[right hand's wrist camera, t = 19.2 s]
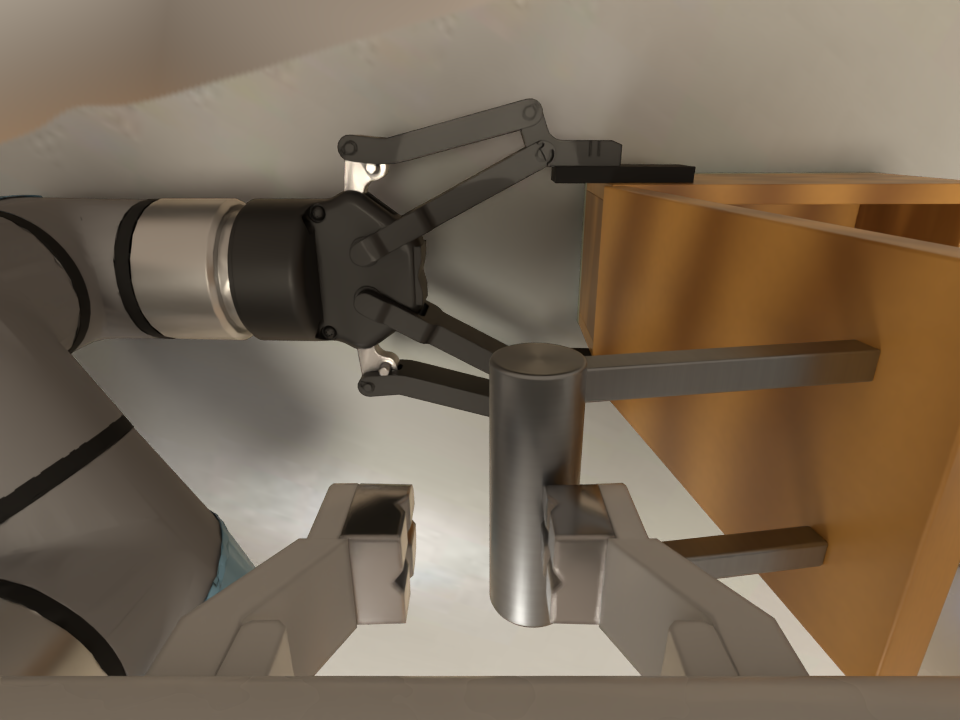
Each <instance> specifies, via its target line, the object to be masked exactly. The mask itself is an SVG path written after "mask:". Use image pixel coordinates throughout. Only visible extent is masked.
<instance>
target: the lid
mask: <svg viewBox="0 0 960 720" xmlns="http://www.w3.org/2000/svg"><path fill="white" fill-rule="evenodd" d="M599 401H611V403H612V404H613V405H614V406H615V407H616V408H617V410H618V411H619V412H620V413H621V414H622V415H623V417H624V418H625V419H626V420H627V421H628V422H629V424H630V425H631V426H632V427H633V428H634V429H635V431H636V432H637V433H638V434H639V435H640V436H641V438H642V439H643V440H644V441H645V442H646V443H647V445H648V446H649V447H650V448H651V449H652V450H653V452H654V453H655V454H656V455H657V456H658V457H659V459H660V460H661V461H662V462H663V463H664V464H665V466H666V467H667V468H668V469H669V470H670V471H671V473H672V474H673V475H674V476H675V477H676V478H677V480H678V481H679V482H680V483H681V484H682V485H683V487H684V488H685V489H686V490H687V491H688V492H689V494H690V495H691V496H692V497H693V498H694V499H695V501H696V502H697V503H698V504H699V505H700V506H701V508H702V509H703V510H704V511H705V512H706V513H707V515H708V516H709V517H710V518H711V519H712V520H713V522H714V523H715V524H716V525H717V526H718V527H719V529H720V530H721V531H722V532H723V533H724V534H725V535H718V536H709V537H700V538H691V539H682V540H673V541H664V542H662V543H664V544H665V545H667V546H668V547H670V548H671V549H673V550H674V551H676V552H677V553H679V554H680V555H682V556H683V557H685V558H686V559H687V560H689V561H690V562H692V563H693V564H695V565H696V566H698V567H699V568H701V569H702V570H704V571H705V572H707V573H708V574H710V575H711V576H713V577H714V578H716V579H719V578H727V577H735V576H743V575H752V574H759V575H760V576H761V578H762V579H763V580H764V581H765V582H766V583H767V585H768V586H769V587H770V588H771V589H772V590H773V592H774V593H775V594H776V595H777V596H778V597H779V599H780V600H781V601H782V602H783V603H784V604H785V606H786V607H787V608H788V609H789V610H790V611H791V613H792V614H793V615H794V616H795V617H796V618H797V620H798V621H799V622H800V623H801V624H802V625H803V627H804V628H805V629H806V630H807V631H808V632H809V634H810V635H811V636H812V637H813V638H814V639H815V641H816V642H817V643H818V644H819V645H820V646H821V648H822V649H823V650H824V651H825V652H826V653H827V655H828V656H829V657H830V658H831V659H832V660H833V662H834V663H835V664H836V665H837V666H838V667H839V669H840V670H841V671H842V672H843V673H844V674H845V676H917V675H918V672H919V670H920V667H921V664H922V662H923V659H924V656H925V654H926V651H927V648H928V646H929V643H930V640H931V638H932V635H933V632H934V630H935V627H936V624H937V622H938V619H939V616H940V614H941V611H942V608H943V606H944V603H945V601H946V598H947V595H948V593H949V590H950V587H951V585H952V582H953V579H954V577H955V574H956V571H957V569H958V566H959V563H960V248H959V247H954V246H948V245H943V244H937V243H932V242H927V241H921V240H916V239H910V238H905V237H900V236H894V235H889V234H883V233H878V232H873V231H867V230H862V229H856V228H851V227H846V226H840V225H835V224H829V223H824V222H819V221H813V220H808V219H802V218H797V217H792V216H786V215H781V214H775V213H770V212H765V211H759V210H754V209H748V208H743V207H738V206H732V205H727V204H721V203H716V202H711V201H705V200H700V199H694V198H689V197H684V196H678V195H673V194H667V193H662V192H657V191H651V190H646V189H640V188H635V187H630V186H605V187H604V198H603V212H602V227H601V241H600V255H599V269H598V283H597V298H596V312H595V326H594V340H593V355H592V356H583V355H582V354H581V353H580V352H578V351H576V350H574V349H571V348H568V347H565V346H561V345H556V344H549V343H522V344H515V345H510V346H507V347H504V348H501V349H499V350H497V351H496V352H494V353H493V354H492V356H491V358H490V361H489V517H490V600H491V603H492V605H493V606H494V608H495V610H496V611H497V612H498V613H499V614H500V615H501V616H502V617H503V618H504V619H506V620H507V621H509V622H511V623H513V624H516V625H519V626H523V627H543V626H548V625H551V624H553V623H550V618H549V612H548V605H547V599H546V577H545V576H544V575H543V571H542V563H541V523H542V522H543V521H544V514H543V508H542V493H543V486H544V485H580V471H581V456H582V441H583V426H584V411H585V403H586V402H599Z"/></svg>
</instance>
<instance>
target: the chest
mask: <svg viewBox="0 0 960 720" xmlns="http://www.w3.org/2000/svg"><path fill="white" fill-rule="evenodd" d="M605 186H630V187H635V188H640V189H646V190H651V191H657V192H662V193H667V194H673V195H678V196H684V197H689V198H694V199H700V200H705V201H711V202H716V203H721V204H727V205H732V206H738V207H743V208H748V209H754V210H759V211H765V212H770V213H775V214H781V215H786V216H792V217H797V218H802V219H808V220H813V221H819V222H824V223H829V224H835V225H840V226H846V227H851V228H856V229H862V230H867V231H873V232H878V233H883V234H889V235H894V236H900V237H905V238H910V239H916V240H921V241H927V242H932V243H937V244H943V245H948V246H954V247H959V248H960V180H954V179H942V178H930V177H919V176H907V175H895V174H884V173H875V172H837V173H695V174H694V182H693V183H585V193H584V211H583V228H582V245H581V262H580V279H579V296H578V313H577V322H578V324H579V326H580V328H581V331H582V333H583V335H584V338H585V340H586V343H587V345H588V348H589V350H590V353H591V355H593V340H594V326H595V312H596V298H597V283H598V269H599V255H600V241H601V227H602V212H603V198H604V187H605Z"/></svg>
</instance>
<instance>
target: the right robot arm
mask: <svg viewBox="0 0 960 720" xmlns="http://www.w3.org/2000/svg"><path fill="white" fill-rule="evenodd" d="M414 504H415V503H414V490H413V486H412V485H411V484H363V483H361V484H358V483H334V484H332V485H331V486H330V487H329V489H328V491H327V493H326V496H325V498H324V500H323V502H322V505H321V507H320V509H319V512H318V514H317V516H316V519H315V521H314V523H313V526H312V528H311V530H310V533H309V535H308V537H307V539H298V540H296V541H295V542H293V543H292V544H290V545H289V546H287V547H286V548H284V549H283V550H281V551H280V552H278V553H277V554H275V555H274V556H272V557H271V558H269V559H268V560H266V561H265V562H263V563H262V564H260V565H259V566H257V567H256V568H254V569H253V570H251V571H250V572H248V573H247V574H245V575H244V576H242V577H241V578H239V579H238V580H236V581H235V582H233V583H232V584H230V585H229V586H227V587H226V588H224V589H223V590H221V591H220V592H218V593H217V594H216V595H214V596H213V597H211V598H210V599H208V600H207V601H205V602H204V603H202V604H201V605H199V606H198V607H196V608H195V609H193V610H192V611H190V612H189V613H187V614H186V615H184V616H183V617H181V618H180V620H179V621H178V623H177V625H176V626H175V628H174V629H173V631H172V633H171V634H170V636H169V637H168V639H167V641H166V642H165V644H164V645H163V647H162V649H161V650H160V652H159V653H158V655H157V657H156V658H155V660H154V661H153V663H152V665H151V666H150V668H149V669H148V671H147V673H146V674H145V676H0V720H960V567H958V569H957V571H956V574H955V577H954V579H953V582H952V585H951V587H950V590H949V593H948V595H947V598H946V601H945V603H944V606H943V608H942V611H941V614H940V616H939V619H938V622H937V624H936V627H935V630H934V632H933V635H932V638H931V640H930V643H929V646H928V648H927V651H926V654H925V656H924V659H923V662H922V664H921V667H920V670H919V672H918V675H917V676H809V674H808V673H807V671H806V669H805V668H804V666H803V664H802V663H801V661H800V659H799V658H798V656H797V654H796V653H795V651H794V650H793V648H792V646H791V645H790V643H789V641H788V640H787V638H786V636H785V635H784V633H783V631H782V630H781V628H780V627H779V625H778V623H777V622H776V620H775V618H773V617H772V616H770V615H769V614H767V613H766V612H764V611H763V610H761V609H760V608H758V607H757V606H755V605H754V604H752V603H751V602H749V601H748V600H747V599H745V598H744V597H742V596H741V595H739V594H738V593H736V592H735V591H733V590H732V589H730V588H729V587H727V586H726V585H724V584H723V583H721V582H720V581H718V580H717V579H716V578H714V577H713V576H711V575H710V574H708V573H707V572H705V571H704V570H702V569H701V568H699V567H698V566H696V565H695V564H693V563H692V562H690V561H689V560H687V559H686V558H685V557H683V556H682V555H680V554H679V553H677V552H676V551H674V550H673V549H671V548H670V547H668V546H667V545H665V544H664V543H662V542H661V541H659V540H658V539H649V538H648V536H647V533H646V531H645V529H644V526H643V524H642V522H641V519H640V517H639V515H638V512H637V510H636V508H635V505H634V503H633V500H632V498H631V496H630V493H629V491H628V489H627V486H626V485H625V484H623V483H607V484H586V485H544V486H543V493H542V508H543V514H544V521H543V522H542V523H541V563H542V571H543V575H544V576H545V577H546V599H547V605H548V612H549V618H550V623H560V624H596V625H599V627H600V629H601V630H602V631H603V632H604V633H605V634H606V635H607V637H608V638H609V639H610V640H611V641H612V642H613V643H614V645H615V646H616V647H617V648H618V649H619V650H620V651H621V653H622V654H623V655H624V656H625V657H626V658H627V659H628V661H629V662H630V663H631V664H632V665H633V666H634V667H635V669H636V670H637V671H638V672H639V673H640V674H641V675H642V676H314V675H315V674H316V673H317V672H318V671H319V670H320V668H321V667H322V666H323V665H324V664H325V663H326V662H327V661H328V659H329V658H330V657H331V656H332V655H333V654H334V653H335V652H336V650H337V649H338V648H339V647H340V646H341V645H342V644H343V643H344V641H345V640H346V639H347V638H348V637H349V636H350V635H351V634H352V632H353V631H354V630H355V629H356V628H357V625H360V624H394V623H406V619H407V613H408V606H409V600H410V578H411V577H412V576H413V574H414V566H415V555H416V524H415V522H414V521H413V520H412V516H413V510H414Z"/></svg>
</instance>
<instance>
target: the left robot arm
mask: <svg viewBox="0 0 960 720" xmlns="http://www.w3.org/2000/svg"><path fill="white" fill-rule="evenodd" d="M519 130H520V131H521V135H522V138H523V141H524V144H525V147H524V148H522V149H520V150H519V151H517V152H515V153H513V154H512V155H510V156H508V157H506V158H504V159H503V160H501V161H499V162H497V163H495V164H494V165H492V166H490V167H488V168H486V169H485V170H483V171H481V172H479V173H478V174H476V175H474V176H472V177H470V178H469V179H467V180H465V181H463V182H461V183H460V184H458V185H456V186H454V187H453V188H451V189H449V190H447V191H445V192H444V193H442V194H440V195H438V196H436V197H435V198H433V199H431V200H429V201H427V202H425V203H423V204H422V205H420V206H418V207H416V208H414V209H413V210H411V211H409V212H407V213H405V214H404V215H402V216H401V215H399V214H398V213H396V212H395V211H394V210H392V209H391V208H390V207H388V206H387V205H385V204H384V203H383V202H381V201H380V200H379V199H377V198H376V197H374V196H373V195H372V194H370V193H369V192H368V186H369V184H370V183H371V182H372V181H373V180H378V179H381V178H383V177H385V176H386V175H387V173H388V171H389V164H395V163H399V162H404V161H409V160H413V159H417V158H420V157H424V156H428V155H431V154H435V153H438V152H442V151H446V150H449V149H453V148H457V147H460V146H464V145H468V144H471V143H475V142H479V141H482V140H486V139H490V138H493V137H497V136H501V135H504V134H508V133H512V132H515V131H519ZM338 152H339V154H340V156H341V157H342V158H343V159H345V173H344V191H343V192H341V193H339V194H338V195H336V196H335V197H333V198H328V199H253V200H250V201H249V202H248V203H247V204H246V203H245V202H243V201H240V200H238V199H236V198H161V199H147V200H131V199H86V198H43V197H42V196H38V195H12V196H1V197H0V676H145V674H146V673H147V671H148V669H149V668H150V666H151V665H152V663H153V661H154V660H155V658H156V657H157V655H158V653H159V652H160V650H161V649H162V647H163V645H164V644H165V642H166V641H167V639H168V637H169V636H170V634H171V633H172V631H173V629H174V628H175V626H176V625H177V623H178V621H179V620H180V618H181V617H183V616H184V615H186V614H187V613H189V612H190V611H192V610H193V609H195V608H196V607H198V606H199V605H201V604H202V603H204V602H205V601H207V600H208V599H210V598H211V597H213V596H214V595H216V594H217V593H218V592H220V591H221V590H223V589H224V588H226V587H227V586H229V585H230V584H232V583H233V582H235V581H236V580H238V579H239V578H241V577H242V576H244V575H245V574H247V573H248V572H250V571H251V570H253V569H254V568H255V566H254V565H253V563H252V562H251V561H250V559H249V558H248V557H247V555H246V554H245V553H244V551H243V550H242V549H241V547H240V546H239V545H238V543H237V542H236V541H235V539H234V538H233V537H232V535H231V534H230V533H229V531H228V530H227V528H226V526H225V524H224V522H223V521H222V520H221V519H220V518H219V517H218V515H217V514H215V513H214V512H212V511H210V510H209V509H208V508H207V507H206V506H205V505H204V504H203V503H202V502H201V501H200V500H199V498H198V497H197V496H196V495H195V494H194V493H193V492H192V491H191V490H190V489H189V487H188V486H187V485H186V484H185V483H184V482H183V481H182V480H181V479H180V478H179V477H178V475H177V474H176V473H175V472H174V471H173V470H172V469H171V468H170V467H169V466H168V465H167V463H166V462H165V461H164V460H163V459H162V458H161V457H160V456H159V455H158V454H157V453H156V451H155V450H154V449H153V448H152V447H151V446H150V445H149V444H148V443H147V442H146V440H145V439H144V438H143V437H142V436H141V435H140V434H139V433H138V432H137V431H136V430H135V428H134V426H132V424H131V423H130V422H129V421H128V419H127V418H126V417H125V416H124V415H123V413H122V412H121V411H120V410H119V409H118V408H117V407H116V405H115V404H114V403H113V402H112V401H111V400H110V399H109V397H108V396H107V395H106V394H105V393H104V392H103V391H102V389H101V388H100V387H99V386H98V385H97V384H96V383H95V381H94V380H93V379H92V378H91V377H90V376H89V375H88V373H87V372H86V371H85V370H84V369H83V368H82V367H81V365H80V364H79V363H78V362H77V361H76V360H75V358H74V357H73V356H72V355H71V353H72V352H74V351H76V350H78V349H80V348H82V347H84V346H86V345H88V344H90V343H92V342H94V341H98V340H103V339H111V338H166V339H175V338H177V339H217V340H246V339H248V338H250V337H252V336H253V335H254V336H255V337H256V338H258V339H260V340H287V341H328V340H335V341H340V342H343V343H346V344H348V345H350V346H352V347H354V348H356V349H357V350H358V355H359V361H360V366H361V371H362V377H361V379H360V381H359V383H358V389H359V392H360V393H361V394H363V395H365V396H369V397H372V396H386V395H404V396H408V397H412V398H416V399H420V400H424V401H428V402H432V403H436V404H440V405H444V406H448V407H452V408H456V409H460V410H464V411H468V412H472V413H476V414H480V415H484V416H488V417H489V379H485V378H481V377H477V376H473V375H469V374H465V373H462V372H458V371H454V370H450V369H446V368H442V367H438V366H434V365H430V364H426V363H422V362H418V361H413V360H403V359H401V360H399V358H398V356H397V355H396V354H395V353H393V352H388V351H385V350H383V349H382V348H380V346H379V343H380V342H381V341H383V340H384V339H386V338H387V337H388V336H390V335H391V334H393V333H394V332H395V331H398V332H400V333H402V334H404V335H406V336H408V337H409V338H411V339H413V340H415V341H417V342H420V343H423V344H430V345H433V346H435V347H437V348H438V349H440V350H442V351H444V352H446V353H448V354H450V355H452V356H454V357H456V358H458V359H460V360H462V361H464V362H466V363H468V364H470V365H472V366H474V367H476V368H478V369H480V370H482V371H484V372H486V373H488V374H489V361H490V358H491V356H492V354H493V353H494V352H496V351H497V350H499V349H501V348H504V347H507V345H505V344H504V343H502V342H500V341H498V340H496V339H494V338H492V337H490V336H488V335H486V334H484V333H482V332H480V331H479V330H477V329H475V328H473V327H471V326H469V325H467V324H465V323H463V322H461V321H459V320H457V319H456V318H454V317H452V316H450V315H448V314H446V313H444V312H443V311H442V310H441V309H440V308H439V307H438V306H436V305H434V304H432V303H430V302H428V301H427V300H426V298H427V296H428V288H427V280H426V276H425V273H424V270H423V266H424V262H425V258H426V240H424V239H423V237H422V235H424V234H426V233H427V232H429V231H431V230H432V229H434V228H435V227H437V226H439V225H441V224H442V223H444V222H446V221H448V220H450V219H451V218H453V217H455V216H457V215H459V214H461V213H462V212H464V211H466V210H468V209H470V208H472V207H473V206H475V205H477V204H479V203H481V202H483V201H484V200H486V199H488V198H490V197H492V196H494V195H495V194H497V193H499V192H501V191H503V190H505V189H506V188H508V187H510V186H512V185H514V184H516V183H517V182H519V181H521V180H523V179H525V178H527V177H528V176H530V175H532V174H534V173H536V172H537V171H539V170H541V169H543V168H545V167H552V172H551V180H552V181H554V182H555V183H693V182H694V174H695V167H693V166H686V165H662V164H620V163H621V152H622V145H621V144H619V143H617V142H614V141H612V140H558V139H556V138H554V137H553V136H552V135H551V134H550V133H549V131H548V128H547V125H546V122H545V118H544V115H543V109H542V106H541V104H540V103H539V102H538V101H537V100H535V99H525V100H521V101H517V102H514V103H510V104H507V105H503V106H500V107H496V108H492V109H489V110H485V111H482V112H478V113H475V114H471V115H467V116H464V117H460V118H457V119H453V120H450V121H446V122H442V123H439V124H435V125H432V126H428V127H425V128H421V129H417V130H414V131H410V132H407V133H403V134H400V135H396V136H392V137H389V138H384V137H374V136H365V135H345V136H343V137H342V138H341V139H340V140H339V142H338ZM571 349H574V350H576V351H578V352H580V353H581V354H582V355H583V356H592V355H591V353H590V350H589V348H571Z"/></svg>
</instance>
